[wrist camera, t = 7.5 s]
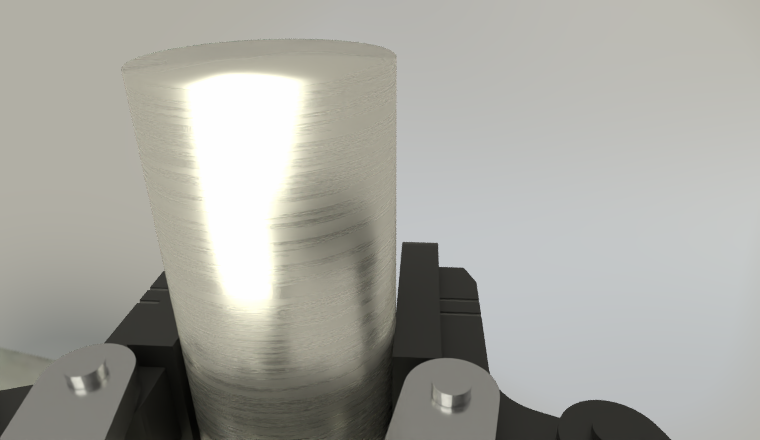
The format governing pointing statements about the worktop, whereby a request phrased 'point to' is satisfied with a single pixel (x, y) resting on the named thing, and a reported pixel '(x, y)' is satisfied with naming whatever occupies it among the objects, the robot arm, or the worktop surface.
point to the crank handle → (276, 229)
